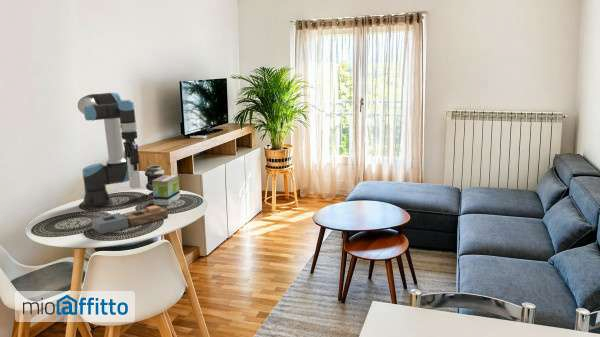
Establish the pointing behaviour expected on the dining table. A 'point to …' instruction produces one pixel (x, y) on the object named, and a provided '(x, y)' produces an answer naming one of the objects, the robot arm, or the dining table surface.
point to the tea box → (166, 189)
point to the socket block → (145, 216)
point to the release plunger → (152, 208)
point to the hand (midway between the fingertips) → (134, 175)
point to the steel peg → (133, 180)
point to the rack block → (109, 223)
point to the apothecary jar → (153, 176)
